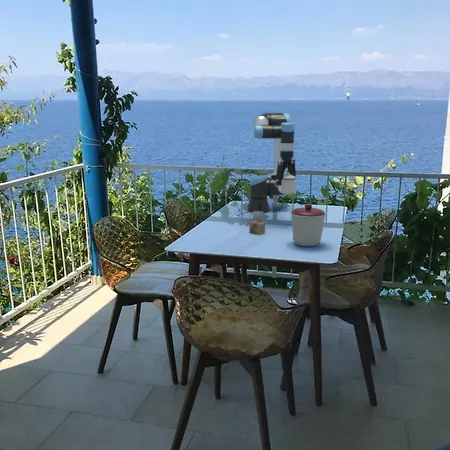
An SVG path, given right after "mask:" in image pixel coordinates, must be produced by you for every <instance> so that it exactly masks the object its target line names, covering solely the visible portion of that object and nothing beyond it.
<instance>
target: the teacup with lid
mask: <svg viewBox="0 0 450 450" xmlns="http://www.w3.org/2000/svg"><path fill="white" fill-rule="evenodd" d="M296 177H297V176H292V175H291V174H290V173H289V172H288V171H286V174H285V175H283V178H282V180H283V191H280V193H283V194H288V195H293V194H295V193H296V192H295V191H296V179H297V178H296ZM276 181H278V180H276ZM276 181H275V186H276V187H277V188H278V186H277V185H276Z"/></svg>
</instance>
